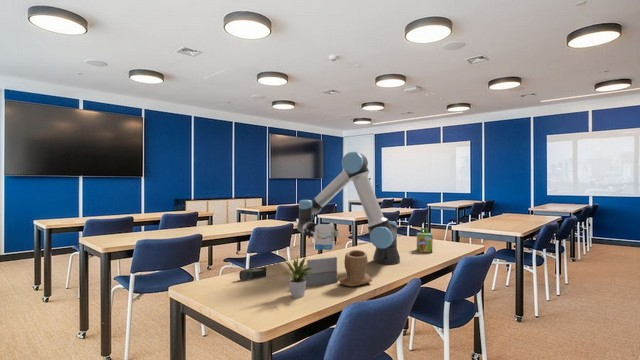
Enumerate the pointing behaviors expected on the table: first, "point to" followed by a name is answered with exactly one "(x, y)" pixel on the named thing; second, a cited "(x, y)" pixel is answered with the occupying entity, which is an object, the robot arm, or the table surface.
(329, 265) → the step
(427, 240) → the green juice carton
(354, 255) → the stone cup
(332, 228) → the ink box
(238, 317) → the table surface
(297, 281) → the house plant
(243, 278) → the mobile phone
